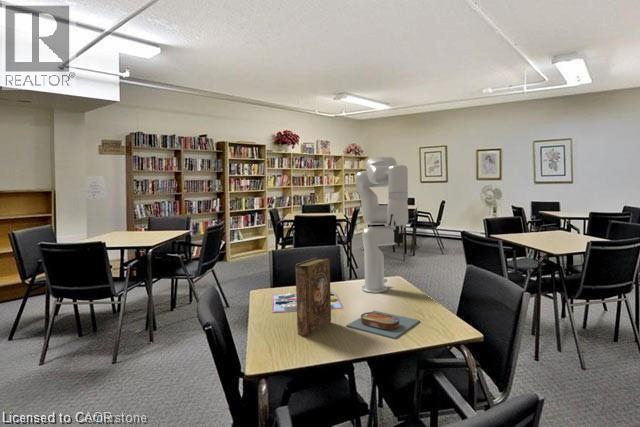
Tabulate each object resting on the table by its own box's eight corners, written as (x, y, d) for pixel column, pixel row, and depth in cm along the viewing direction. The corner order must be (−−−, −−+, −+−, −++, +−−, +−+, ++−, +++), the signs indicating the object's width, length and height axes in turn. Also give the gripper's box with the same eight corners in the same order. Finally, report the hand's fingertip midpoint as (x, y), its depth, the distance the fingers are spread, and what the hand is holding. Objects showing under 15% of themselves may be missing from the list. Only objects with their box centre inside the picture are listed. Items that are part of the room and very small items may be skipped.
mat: (374, 311, 156) (374, 310, 156) (419, 321, 144) (419, 320, 144) (346, 326, 141) (346, 325, 141) (395, 339, 128) (395, 337, 128)
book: (308, 337, 132) (306, 266, 130) (295, 334, 134) (293, 265, 133) (331, 322, 146) (329, 258, 144) (319, 320, 149) (317, 257, 147)
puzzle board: (272, 314, 158) (271, 308, 158) (272, 298, 181) (272, 293, 181) (343, 310, 162) (343, 303, 162) (335, 294, 185) (335, 289, 185)
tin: (403, 318, 139) (392, 323, 132) (403, 326, 139) (392, 332, 132) (368, 310, 148) (356, 315, 142) (368, 318, 148) (356, 323, 142)
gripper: (398, 196, 157) (398, 239, 158) (380, 197, 145) (380, 244, 147) (415, 196, 152) (415, 241, 154) (397, 197, 141) (398, 246, 142)
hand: (398, 242), depth 150 cm, fingers closed
